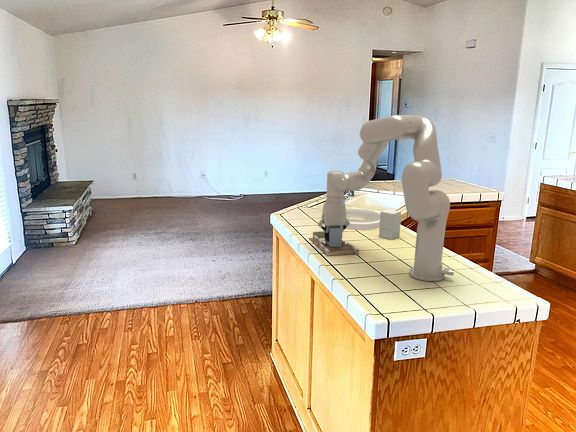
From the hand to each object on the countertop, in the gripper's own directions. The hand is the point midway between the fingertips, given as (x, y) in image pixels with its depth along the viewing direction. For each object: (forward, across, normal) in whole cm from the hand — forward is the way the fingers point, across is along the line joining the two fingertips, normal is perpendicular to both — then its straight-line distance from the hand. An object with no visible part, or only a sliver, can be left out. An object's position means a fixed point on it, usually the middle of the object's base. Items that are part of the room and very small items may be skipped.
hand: (333, 240), depth 199 cm
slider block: (+2, 0, 0) cm, 2 cm away
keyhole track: (+3, 0, 0) cm, 3 cm away
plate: (+3, -26, -37) cm, 45 cm away
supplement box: (+3, -32, -9) cm, 33 cm away
